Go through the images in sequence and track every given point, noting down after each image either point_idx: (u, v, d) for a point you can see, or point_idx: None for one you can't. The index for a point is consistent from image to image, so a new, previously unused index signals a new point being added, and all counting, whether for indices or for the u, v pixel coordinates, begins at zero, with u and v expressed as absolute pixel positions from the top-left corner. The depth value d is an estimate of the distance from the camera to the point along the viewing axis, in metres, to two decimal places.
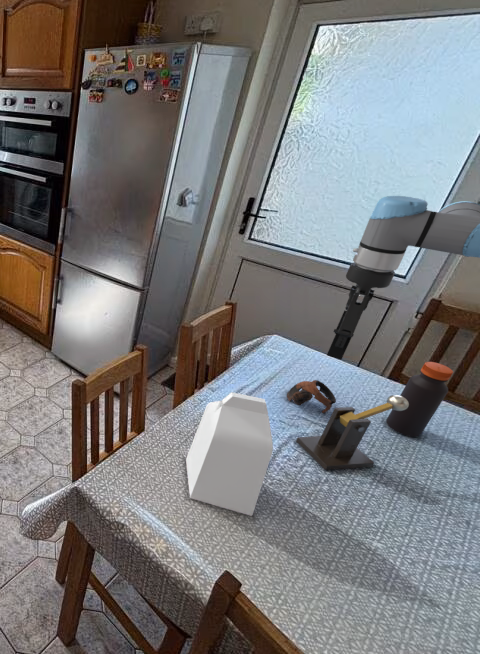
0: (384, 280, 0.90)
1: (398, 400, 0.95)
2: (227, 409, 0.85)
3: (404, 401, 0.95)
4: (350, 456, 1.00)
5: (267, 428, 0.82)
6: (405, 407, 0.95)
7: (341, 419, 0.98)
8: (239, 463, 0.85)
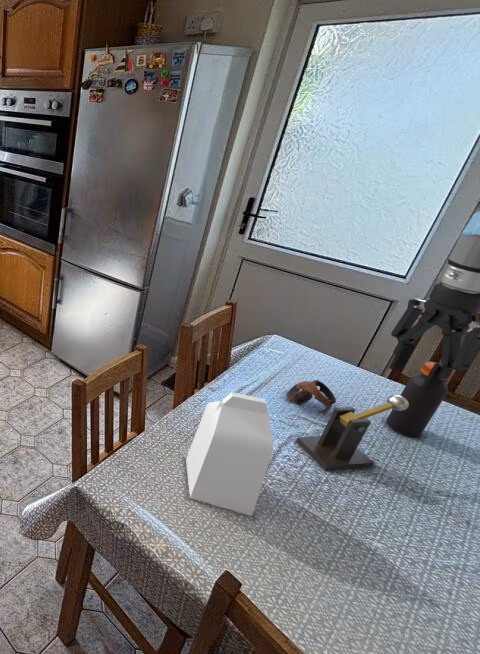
0: None
1: (398, 400, 0.95)
2: (227, 409, 0.85)
3: (404, 401, 0.95)
4: (350, 456, 1.00)
5: (267, 428, 0.82)
6: (405, 407, 0.95)
7: (341, 419, 0.98)
8: (239, 463, 0.85)
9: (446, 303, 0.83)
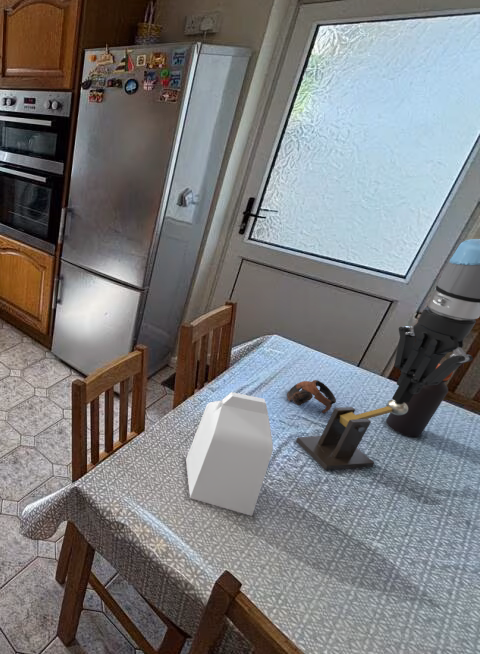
0: (472, 326, 0.84)
1: (399, 404, 0.96)
2: (227, 409, 0.85)
3: (404, 405, 0.95)
4: (350, 456, 1.00)
5: (267, 428, 0.82)
6: (405, 411, 0.95)
7: (341, 418, 0.98)
8: (239, 463, 0.85)
9: (434, 328, 0.86)
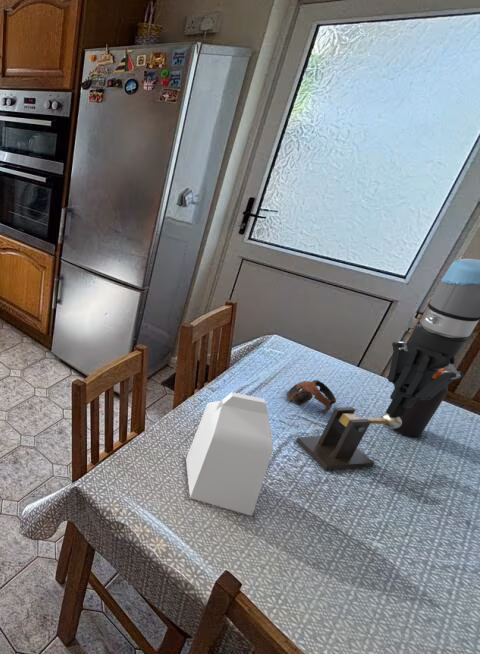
0: None
1: (396, 417, 0.98)
2: (227, 409, 0.85)
3: (400, 419, 0.97)
4: (350, 456, 1.00)
5: (267, 428, 0.82)
6: (399, 425, 0.97)
7: (343, 417, 0.98)
8: (239, 463, 0.85)
9: (426, 345, 0.88)
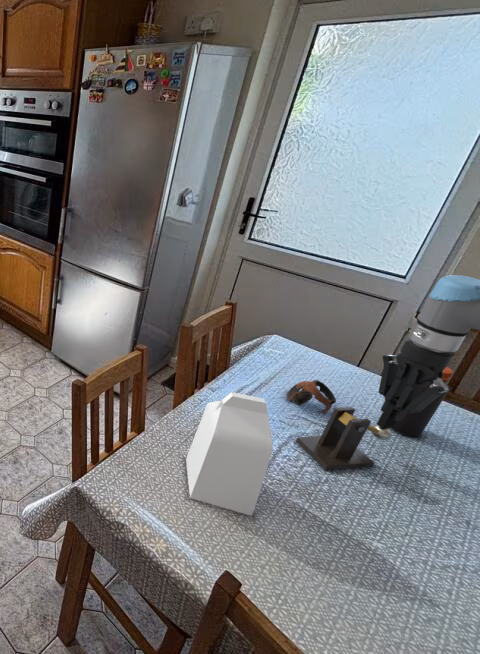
0: None
1: (387, 429, 0.99)
2: (227, 409, 0.85)
3: None
4: (350, 456, 1.00)
5: (266, 428, 0.82)
6: (388, 437, 0.99)
7: (344, 415, 0.98)
8: (239, 463, 0.85)
9: (415, 359, 0.89)
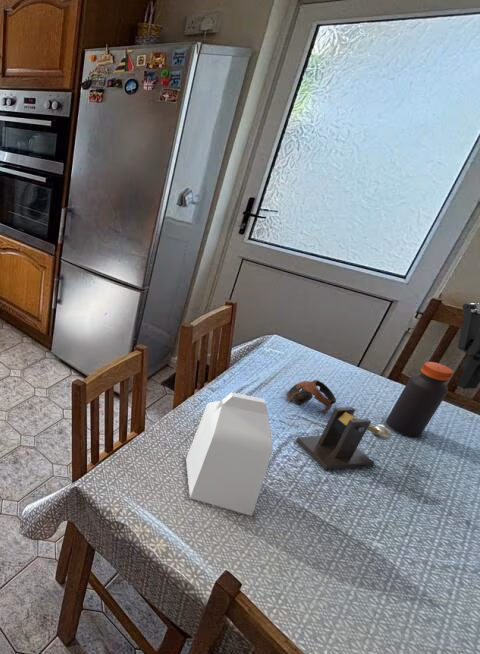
0: None
1: (387, 429, 0.99)
2: (227, 409, 0.85)
3: None
4: (350, 456, 1.00)
5: (266, 428, 0.82)
6: (388, 437, 0.99)
7: (344, 415, 0.98)
8: (239, 463, 0.85)
9: None
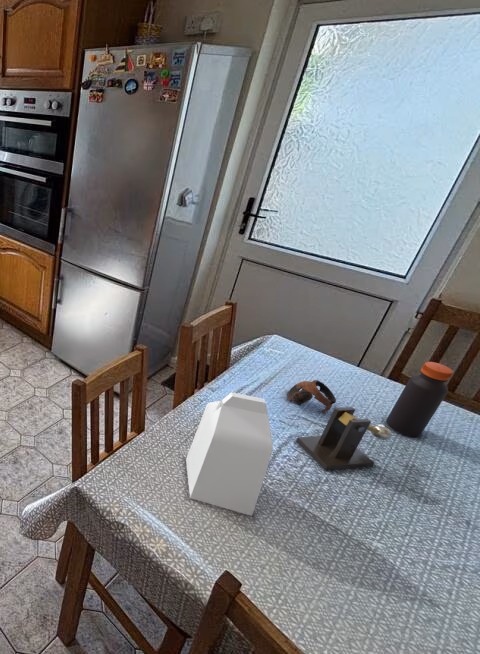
0: None
1: (387, 429, 0.99)
2: (227, 409, 0.85)
3: None
4: (350, 456, 1.00)
5: (266, 428, 0.82)
6: (388, 437, 0.99)
7: (344, 415, 0.98)
8: (239, 463, 0.85)
9: None
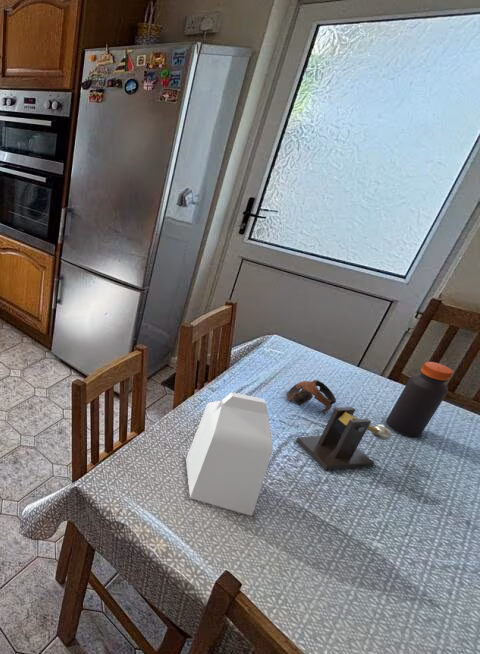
0: None
1: (387, 429, 0.99)
2: (227, 409, 0.85)
3: None
4: (350, 456, 1.00)
5: (266, 428, 0.82)
6: (388, 437, 0.99)
7: (344, 415, 0.98)
8: (239, 463, 0.85)
9: None
